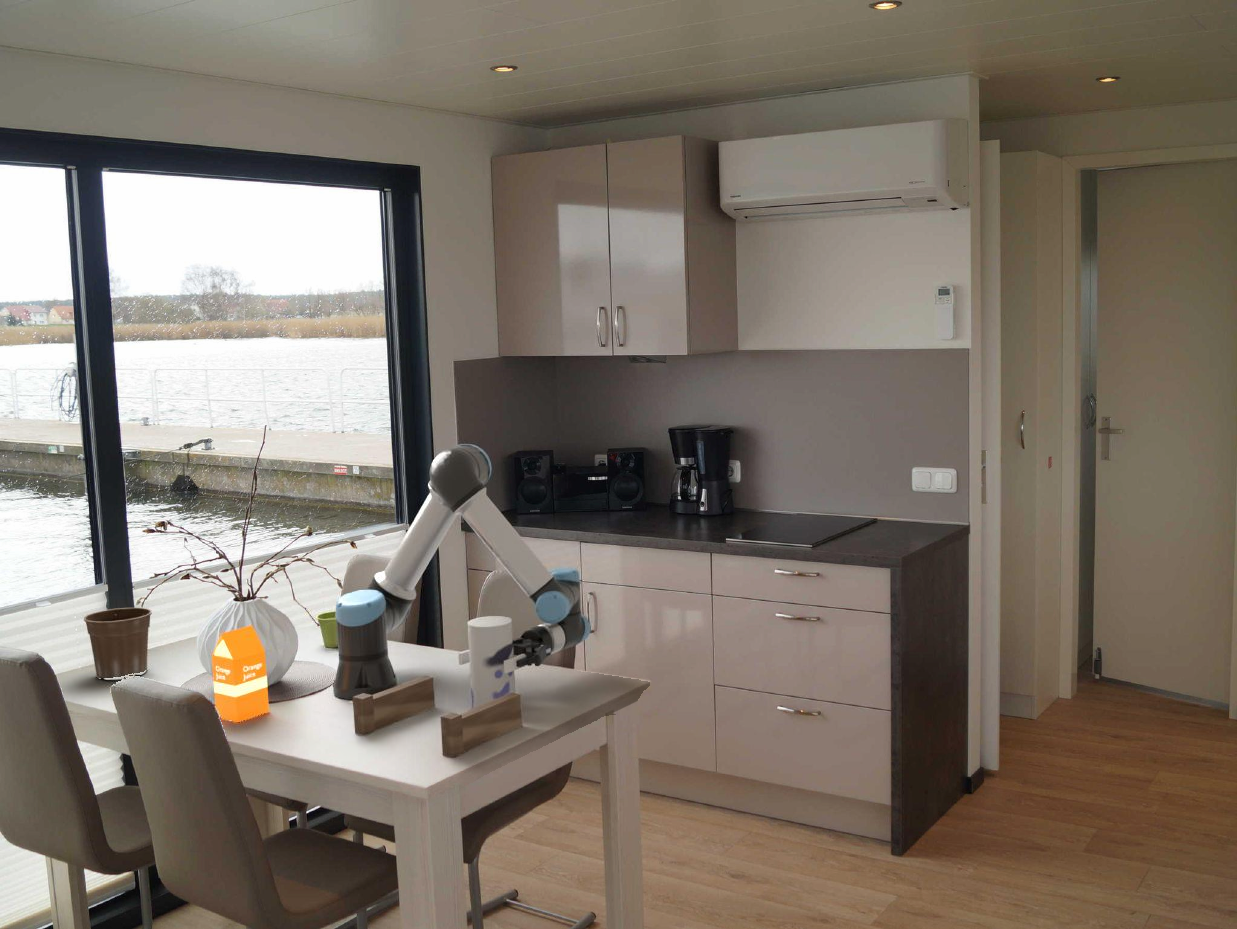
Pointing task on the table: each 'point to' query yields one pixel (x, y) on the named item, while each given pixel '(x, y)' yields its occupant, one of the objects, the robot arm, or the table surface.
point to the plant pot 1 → (119, 640)
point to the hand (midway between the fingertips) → (482, 663)
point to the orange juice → (240, 675)
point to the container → (490, 658)
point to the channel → (455, 728)
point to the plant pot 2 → (328, 628)
